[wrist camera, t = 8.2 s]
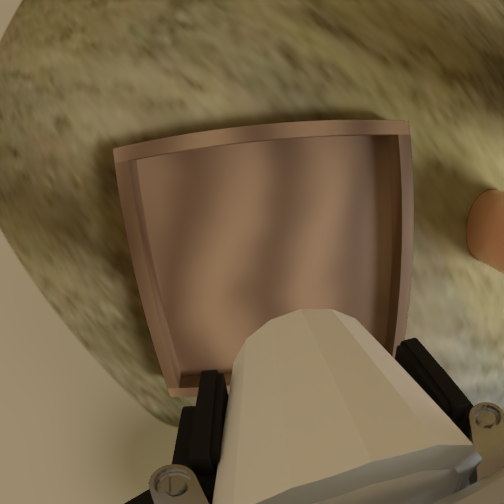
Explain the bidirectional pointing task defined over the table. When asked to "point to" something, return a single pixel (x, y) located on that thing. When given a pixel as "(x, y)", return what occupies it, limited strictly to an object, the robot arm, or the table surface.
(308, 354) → the white tapered cup
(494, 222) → the peach rounded capsule
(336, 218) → the walnut tray
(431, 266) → the table surface
